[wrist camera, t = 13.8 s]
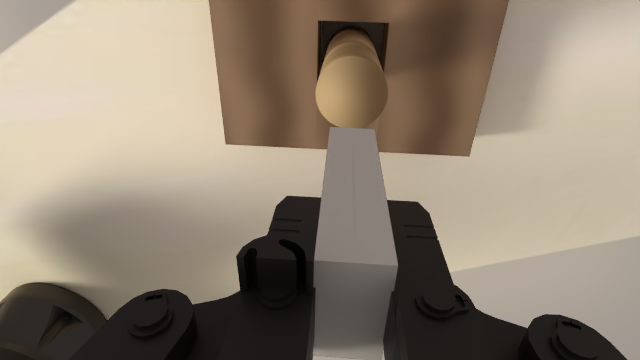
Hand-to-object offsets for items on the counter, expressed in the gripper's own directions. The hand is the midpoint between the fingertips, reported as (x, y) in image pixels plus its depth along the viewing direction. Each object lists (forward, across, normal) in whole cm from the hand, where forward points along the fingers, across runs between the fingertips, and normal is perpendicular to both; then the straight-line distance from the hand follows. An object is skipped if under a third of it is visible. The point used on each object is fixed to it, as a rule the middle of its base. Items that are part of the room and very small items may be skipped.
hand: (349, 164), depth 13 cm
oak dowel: (+22, 0, 0) cm, 22 cm away
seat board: (+22, 0, 0) cm, 22 cm away
